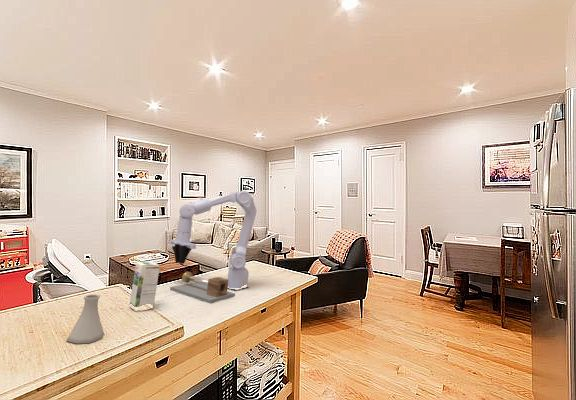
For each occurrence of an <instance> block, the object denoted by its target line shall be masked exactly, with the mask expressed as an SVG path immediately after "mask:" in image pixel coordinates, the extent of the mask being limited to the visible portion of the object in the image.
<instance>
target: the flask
mask: <svg viewBox="0 0 576 400" xmlns="http://www.w3.org/2000/svg"><path fill="white" fill-rule="evenodd" d="M100 297H101V294H96V293H95V294H94V293H93V294H91V293H90V294H86V295H85V296H84V297H83V299H84V304H83V308H82V310H81V313H80V314H79V317H78V319H77V321H76V323H75V325H74V326H73V328H72V330H71V332H70V333H69V335H68V337H67V339H66V342H68V343H69V342H70V343H73V344H91V343H93V342H96V341H98V340H101V339H102V338H103V336H104V334H105V331H104V329H103V325H102V321H101V318H100V314H99V305H98V303H99V299H100Z"/></svg>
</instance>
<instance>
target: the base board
mask: <svg viewBox="0 0 576 400" xmlns="http://www.w3.org/2000/svg"><path fill="white" fill-rule="evenodd" d="M207 287H208V286H207V285H203V284H200V283H197V282H190V283H189V282H188V283H185V284H179V285H174V286H170V289H169V290H170V291H172V292H175V293H177V294H181V295H184V296H187V297H190V298H193V299H195V300H198V301H201V302H204V303H208V304H212V303H216V302H217V303H218V302H220V301H223V300H227V299H231V298H233V297H234V296H236V293H234V292H231V291H228V290H227V295H224V296H220V297H213V296H210V295H207Z"/></svg>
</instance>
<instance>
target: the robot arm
mask: <svg viewBox="0 0 576 400" xmlns="http://www.w3.org/2000/svg"><path fill="white" fill-rule="evenodd" d="M225 203H233V204H234V203H237V204H238V205H239V206H241V208H242V210H243V211H244V212H245V214H244V217H243V222H242V225H241V228H240V233H239V236H238V239H237V243H236V246H235V249H234V251H233V253H231V256H230V263H231V264H230V265H229V266H228V273H227V279H229V280H228V287H229V288H241V287H242V286H244V285H246V284H247V285H248V281H249V270H248V269H247V267H245V266H246V263H247V261H246V255H247V248H248V245H249V244H248V243H249V241H250V237H251V234H252V231H253V230H252V229H253V227H254V222H255V219H256V214H257V208H256V205H255V202H254V198H253V196H252V194H251V193H250V192H249V191H247V190H241V191H234V192H230V193H227V194H224V195H221V196H218V197H216V198H213V199H208V198H203V197H202V198H200V199H199V200H196V201H193V202H192V201H190V202H189V203H187V204H186V203H185V204H183V205H181V206H180V208H179V218H178V219H179V220H178V222H177V223H178V224H177V230H176V231H177V232H176V239H169V245H171V246H172V247H171V249H172V252H173V253H174V261H175V264H179V265H182V264H185V262H186V260H187V258H188V255H189V254H190V253H191V251H192V250H195V249H197V244H196V243H192V242H191V235H192V228H193V216H194V215H195V216H197V215H200V214H204V213H207V212H210V211H211V209H212V207H216V206H219V205H222V204H225Z"/></svg>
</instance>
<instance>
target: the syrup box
mask: <svg viewBox="0 0 576 400" xmlns="http://www.w3.org/2000/svg"><path fill="white" fill-rule="evenodd" d="M160 266H161V264H158V263H156V262H154V261H147V260H146V261H137V262H135V268H134V269H135V270H134V276H133V281H132V287H131V291H130V292H131V293H130V298H129V299H130V300H129V305H130V304H132V305H133V306H134V307H140V306H142V305H145V304H151V305H153V306H154V305H155V300H156V295H157V293H156V292H157V287H158V281H159V280H158V279H159V273H160V268H161V267H160ZM154 307H155V306H154Z"/></svg>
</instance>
